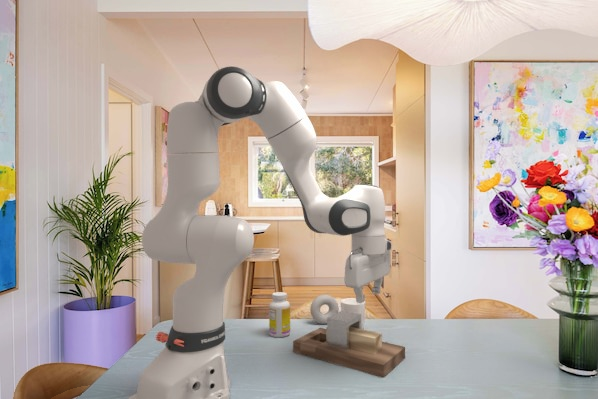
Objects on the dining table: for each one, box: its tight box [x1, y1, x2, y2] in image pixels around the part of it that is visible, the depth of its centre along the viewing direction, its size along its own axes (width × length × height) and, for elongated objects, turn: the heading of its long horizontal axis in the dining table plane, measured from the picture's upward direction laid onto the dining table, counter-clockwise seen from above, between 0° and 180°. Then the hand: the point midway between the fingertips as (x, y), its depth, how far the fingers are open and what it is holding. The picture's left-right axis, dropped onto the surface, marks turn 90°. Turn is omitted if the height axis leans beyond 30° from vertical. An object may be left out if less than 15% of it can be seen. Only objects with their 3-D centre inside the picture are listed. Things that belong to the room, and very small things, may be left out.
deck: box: [292, 327, 406, 378], centre depth 105 cm, size 14×27×3 cm, turn 54°
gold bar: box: [325, 327, 383, 354], centre depth 104 cm, size 4×14×4 cm, turn 54°
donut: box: [309, 294, 339, 325], centre depth 132 cm, size 10×4×10 cm, turn 102°
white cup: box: [340, 297, 366, 330], centre depth 123 cm, size 8×8×10 cm
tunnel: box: [326, 310, 361, 350], centre depth 106 cm, size 8×6×8 cm
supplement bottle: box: [268, 291, 291, 338], centre depth 122 cm, size 7×7×13 cm
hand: (368, 297), depth 102 cm, fingers open, 8 cm apart
